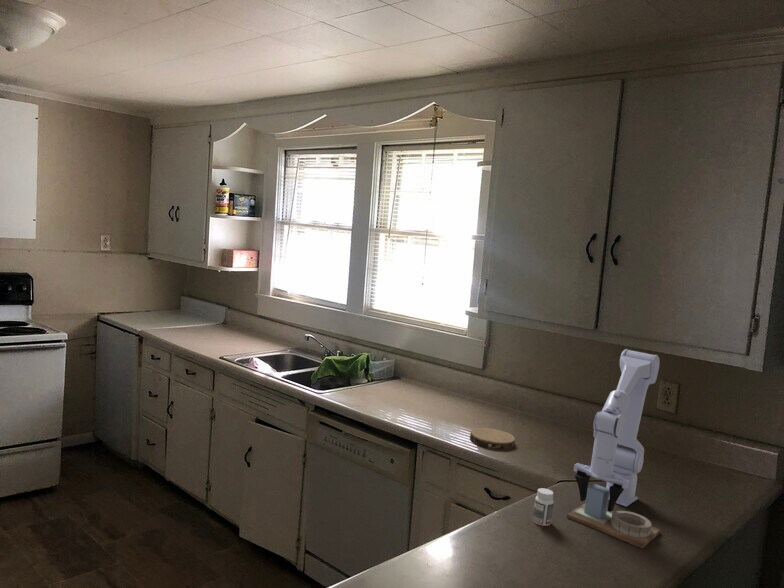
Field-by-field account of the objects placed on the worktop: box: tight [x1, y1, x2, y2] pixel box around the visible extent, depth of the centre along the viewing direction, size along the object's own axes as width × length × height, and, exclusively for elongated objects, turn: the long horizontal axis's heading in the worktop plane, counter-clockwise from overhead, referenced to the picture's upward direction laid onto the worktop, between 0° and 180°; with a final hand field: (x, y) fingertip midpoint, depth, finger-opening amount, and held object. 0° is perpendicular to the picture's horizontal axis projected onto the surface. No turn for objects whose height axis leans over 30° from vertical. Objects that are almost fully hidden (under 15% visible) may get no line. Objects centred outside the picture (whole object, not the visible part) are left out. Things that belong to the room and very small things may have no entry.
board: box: [566, 502, 661, 549], centre depth 161 cm, size 13×20×4 cm, turn 48°
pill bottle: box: [532, 487, 555, 527], centre depth 158 cm, size 5×5×8 cm
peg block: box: [584, 483, 610, 518], centre depth 164 cm, size 4×4×7 cm
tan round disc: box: [469, 427, 516, 451], centre depth 219 cm, size 16×16×3 cm
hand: (596, 505), depth 164 cm, fingers open, 7 cm apart
